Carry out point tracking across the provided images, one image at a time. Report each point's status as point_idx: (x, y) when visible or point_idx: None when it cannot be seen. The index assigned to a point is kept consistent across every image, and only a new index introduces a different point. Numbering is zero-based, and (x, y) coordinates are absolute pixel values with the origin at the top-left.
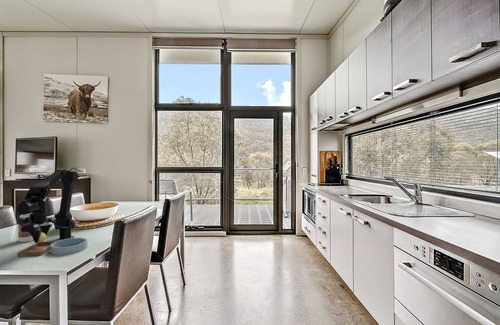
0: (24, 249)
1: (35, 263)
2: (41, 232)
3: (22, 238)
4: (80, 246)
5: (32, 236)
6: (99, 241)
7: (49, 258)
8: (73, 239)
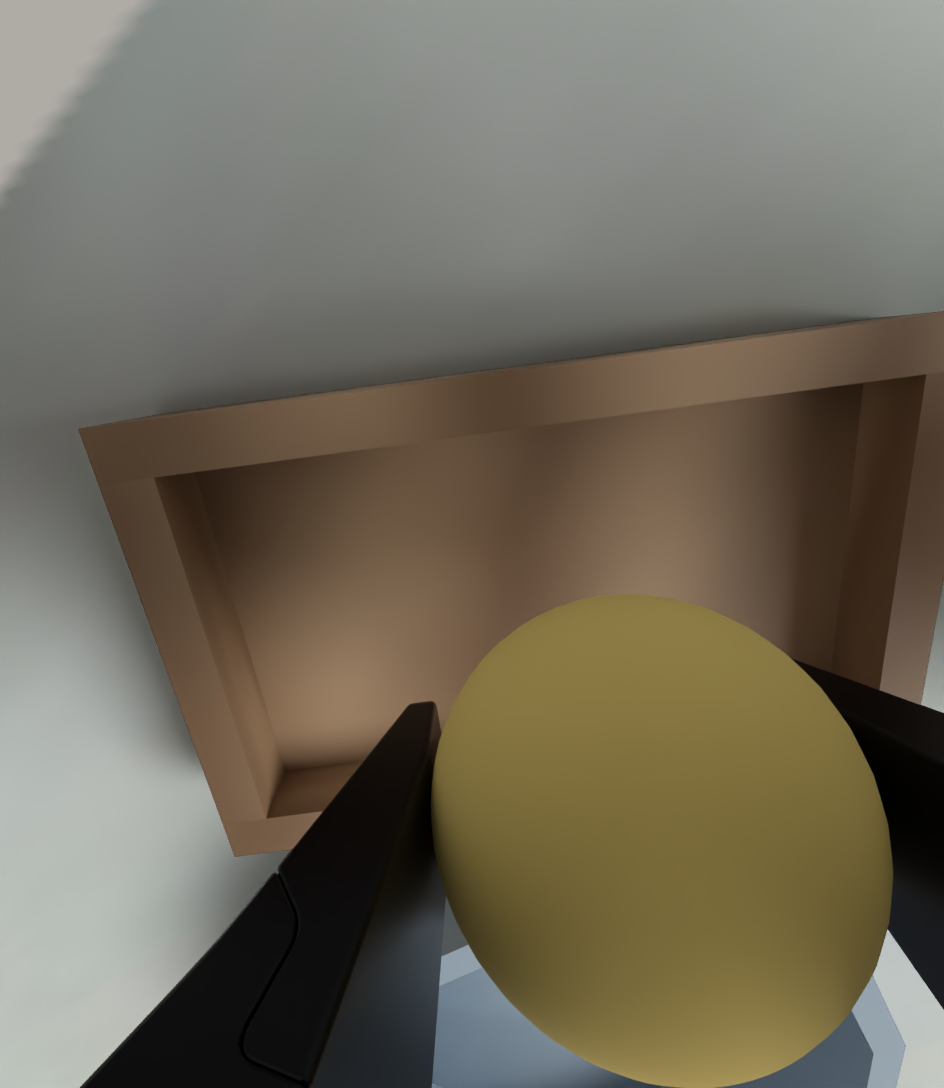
0: (318, 425)
1: (16, 883)
2: (764, 1071)
3: None
4: None
5: (260, 910)
6: (913, 1075)
7: (227, 922)
8: (855, 1022)
